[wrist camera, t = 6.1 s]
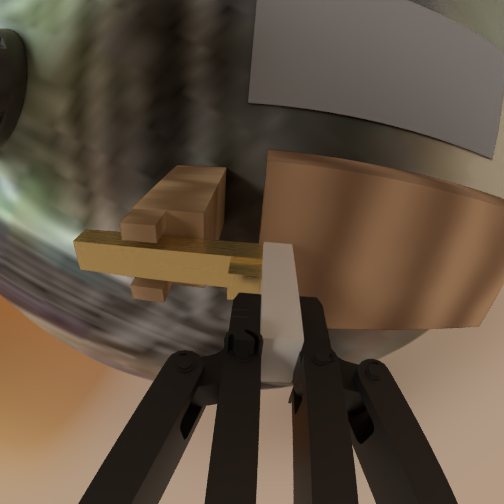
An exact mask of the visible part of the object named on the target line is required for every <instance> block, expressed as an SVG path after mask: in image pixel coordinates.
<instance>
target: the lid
mask: <svg viewBox="0 0 504 504" xmlns="http://www.w3.org/2000/svg"><path fill="white" fill-rule="evenodd" d="M264 242H272V243H284V244H292V247H293V254H294V261H295V268H296V276H297V284H298V292H299V296H305V297H317V298H318V300H319V301H320V302H321V304H322V305H323V309H324V315H325V319H326V324H327V328H331V329H373V330H403V329H443V328H463V327H479V326H480V324H481V323H482V321H483V319H484V318H485V316H486V314H487V312H488V311H489V309H490V308H491V306H492V304H493V302H494V301H495V299H496V297H497V295H498V293H499V291H500V290H501V288H502V286H503V284H504V199H503V198H500V197H497V196H494V195H491V194H488V193H485V192H482V191H478V190H475V189H472V188H469V187H465V186H462V185H458V184H455V183H451V182H448V181H444V180H440V179H436V178H433V177H429V176H425V175H420V174H416V173H412V172H408V171H403V170H399V169H394V168H389V167H384V166H379V165H374V164H369V163H364V162H358V161H352V160H346V159H340V158H334V157H327V156H320V155H313V154H305V153H297V152H289V151H280V150H270V149H268V153H267V164H266V174H265V185H264V195H263V205H262V216H261V226H260V236H259V244H264Z"/></svg>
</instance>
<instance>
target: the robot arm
mask: <svg viewBox="0 0 504 504" xmlns="http://www.w3.org/2000/svg"><path fill="white" fill-rule="evenodd" d="M26 80H27V62H26V54H25V50H24V46H23V43H22V41H21V39H20V37H19V36H18V35H17V34H16V33H15V32H14V31H12V30H10V29H0V146H1V145H2V144H3V143H4V142H5V141H6V140H7V139H8V137H9V136H10V134H11V133H12V131H13V129H14V127H15V125H16V123H17V120H18V118H19V115H20V112H21V108H22V105H23V100H24V95H25V89H26ZM292 379H293V383H294V386H293V389H292V392H291V395H290V398H289V403H291V402H292V425H293V472H294V476H293V477H294V504H358V494H357V485H356V474H355V465H354V457H353V449H352V445H353V447H354V450H355V452H356V454H357V457H358V459H359V462H360V464H361V467H362V469H363V472H364V474H365V477H366V479H367V482H368V484H369V487H370V489H371V492H372V494H373V497H374V499H375V502H376V504H458V503H457V501H456V498H455V496H454V494H453V492H452V490H451V487H450V485H449V483H448V481H447V479H446V477H445V475H444V473H443V471H442V468H441V466H440V464H439V463H438V461H437V459H436V456H435V454H434V452H433V450H432V448H431V446H430V445H429V442H428V440H427V439H426V437H425V435H424V433H423V431H422V429H421V427H420V425H419V423H418V422H417V420H416V418H415V416H414V414H413V412H412V410H411V409H410V407H409V405H408V403H407V401H406V399H405V398H404V396H403V394H402V392H401V390H400V389H399V387H398V385H397V383H396V382H395V380H394V378H393V376H392V375H391V373H390V371H389V370H388V368H387V367H386V366H385V364H383V363H382V362H380V361H378V360H375V359H367V360H364V361H362V362H361V363H360V365H357V364H354V363H350V362H346V361H344V360H342V359H340V358H338V357H337V355H336V353H335V352H334V351H333V350H332V349H331V345H330V340H329V335H328V330H327V324H326V319H325V315H324V309H323V305H322V304H321V302H320V301H319V300H318V298H317V297H305V296H299V292H298V284H297V276H296V268H295V261H294V254H293V247H292V244H284V243H272V242H264V244H263V260H262V280H261V288H260V294H253V293H241V292H239V293H238V294H237V296H236V297H235V298H234V299H233V306H232V313H231V320H230V327H229V331H228V332H227V333H226V336H225V338H224V349H223V350H222V351H220V352H219V353H217V354H214V355H210V356H204V357H200V356H199V355H198V354H196V353H194V352H193V351H187V350H184V351H178V352H176V353H174V354H172V355H171V356H170V357H169V358H168V359H167V361H166V363H165V364H164V366H163V367H162V369H161V370H160V372H159V374H158V375H157V377H156V378H155V380H154V382H153V383H152V385H151V386H150V388H149V390H148V391H147V393H146V394H145V396H144V397H143V399H142V401H141V402H140V404H139V405H138V407H137V409H136V410H135V412H134V414H133V415H132V417H131V418H130V420H129V422H128V423H127V425H126V426H125V428H124V430H123V431H122V433H121V435H120V436H119V438H118V439H117V441H116V443H115V444H114V446H113V447H112V449H111V451H110V452H109V454H108V456H107V457H106V459H105V460H104V462H103V464H102V465H101V467H100V469H99V470H98V472H97V474H96V475H95V477H94V479H93V480H92V482H91V484H90V485H89V487H88V489H87V490H86V492H85V494H84V495H83V497H82V499H81V500H80V502H79V504H158V503H159V501H160V499H161V497H162V495H163V493H164V491H165V489H166V487H167V485H168V483H169V481H170V479H171V477H172V475H173V473H174V471H175V469H176V467H177V465H178V463H179V461H180V459H181V457H182V455H183V453H184V451H185V449H186V447H187V445H188V442H189V441H190V439H191V436H192V434H193V432H194V430H195V428H196V426H197V424H198V422H199V420H200V418H201V416H202V413H203V411H204V409H205V407H206V405H213V404H217V411H216V418H215V426H214V433H213V441H212V449H211V456H210V464H209V473H208V480H207V488H206V497H205V504H256V489H257V467H258V466H257V465H258V441H259V413H260V386H261V381H267V382H290V383H291V382H292Z"/></svg>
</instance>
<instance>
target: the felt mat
mask: <svg viewBox="0 0 504 504" xmlns="http://www.w3.org/2000/svg"><path fill="white" fill-rule="evenodd" d="M503 91H504V51H503V50H502V49H500V48H499V47H497V46H496V45H494V44H493V43H491V42H490V41H488V40H486V39H485V38H483V37H482V36H480V35H478V34H477V33H475V32H473V31H471V30H470V29H468V28H466V27H464V26H462V25H460V24H459V23H457V22H455V21H453V20H451V19H449V18H447V17H445V16H443V15H441V14H438V13H436V12H434V11H432V10H430V9H427V8H425V7H423V6H420V5H418V4H416V3H413V2H410V1H408V0H257V4H256V15H255V26H254V38H253V49H252V61H251V73H250V86H249V98H248V103H258V104H270V105H280V106H289V107H297V108H305V109H312V110H318V111H325V112H331V113H336V114H342V115H347V116H352V117H357V118H362V119H367V120H371V121H376V122H380V123H384V124H388V125H392V126H396V127H400V128H403V129H407V130H411V131H414V132H418V133H421V134H424V135H428V136H431V137H434V138H437V139H440V140H443V141H446V142H449V143H452V144H455V145H457V146H460V147H463V148H466V149H468V150H471V151H473V152H476V153H479V154H481V155H483V156H486V157H488V158H491V159H492V158H493V154H494V149H495V145H496V139H497V134H498V128H499V122H500V116H501V109H502V100H503Z"/></svg>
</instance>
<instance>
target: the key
mask: <svg viewBox="0 0 504 504" xmlns="http://www.w3.org/2000/svg"><path fill="white" fill-rule="evenodd" d="M73 242H74V247H75V251H76V255H77V258H78V262H79V266H80V269H81V270H88V271H95V272H102V273H109V274H116V275H124V276H131V277H139V278H147V279H155V280H164V281H172V282H181V283H190V284H199V285H209V286H219V287H227V299H230V300H233V299H234V298H235V297H236V296H237V294H238V293H239V292H241V293H253V294H260V288H261V280H262V260H263V244H256V243H245V242H233V241H222V240H211V239H199V238H187V237H175V236H163V235H162V236H161V237H160V239H159V240H158V242H157V243H150V242H139V241H128V240H122V236H121V232H114V231H101V230H88V229H85V230H84V231H83V232H82V233H81V234H80V235H79V236H78V237H77V238H76V239H75V240H74V241H73Z"/></svg>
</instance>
